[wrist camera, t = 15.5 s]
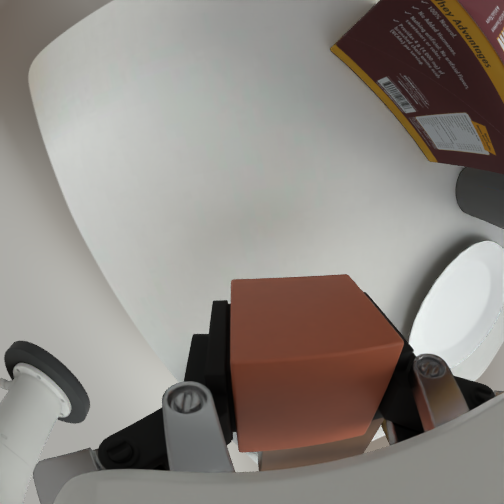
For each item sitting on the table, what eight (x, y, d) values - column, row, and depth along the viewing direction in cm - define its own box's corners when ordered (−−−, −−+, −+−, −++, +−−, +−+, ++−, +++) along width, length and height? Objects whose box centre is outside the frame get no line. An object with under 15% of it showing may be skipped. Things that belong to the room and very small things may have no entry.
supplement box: (380, 4, 17) (467, -59, 2) (467, 108, 21) (572, 111, 6) (326, 48, 19) (419, -39, 4) (429, 163, 23) (553, 191, 8)
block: (236, 368, 11) (238, 453, 7) (231, 278, 10) (229, 362, 6) (333, 360, 12) (365, 435, 7) (348, 273, 10) (406, 341, 6)
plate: (505, 218, 26) (515, 223, 23) (488, 332, 33) (495, 338, 30) (400, 263, 26) (410, 271, 24) (396, 385, 34) (402, 394, 31)
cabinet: (336, 420, 35) (352, 468, 26) (255, 429, 35) (260, 483, 26) (359, 353, 30) (389, 409, 21) (256, 362, 30) (263, 430, 21)
